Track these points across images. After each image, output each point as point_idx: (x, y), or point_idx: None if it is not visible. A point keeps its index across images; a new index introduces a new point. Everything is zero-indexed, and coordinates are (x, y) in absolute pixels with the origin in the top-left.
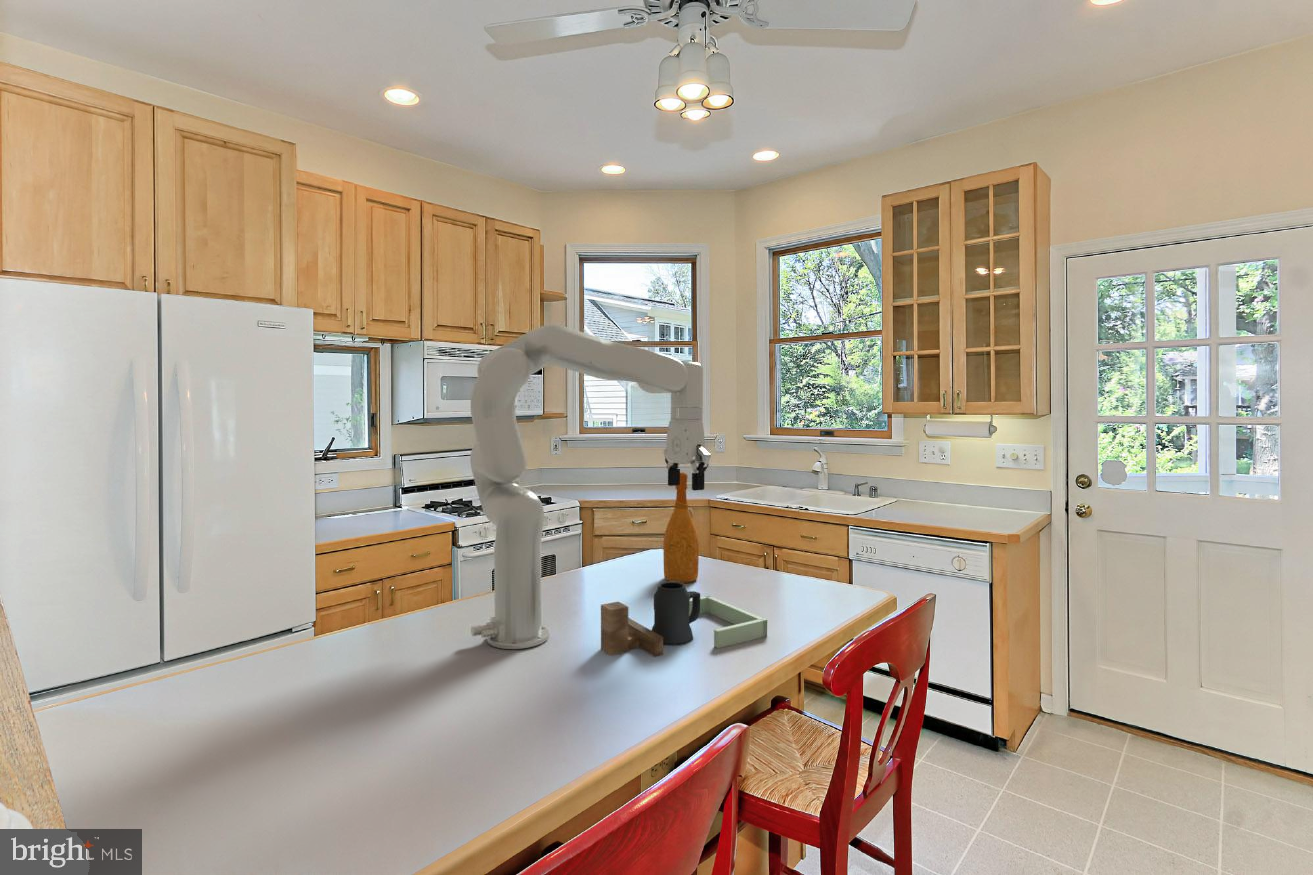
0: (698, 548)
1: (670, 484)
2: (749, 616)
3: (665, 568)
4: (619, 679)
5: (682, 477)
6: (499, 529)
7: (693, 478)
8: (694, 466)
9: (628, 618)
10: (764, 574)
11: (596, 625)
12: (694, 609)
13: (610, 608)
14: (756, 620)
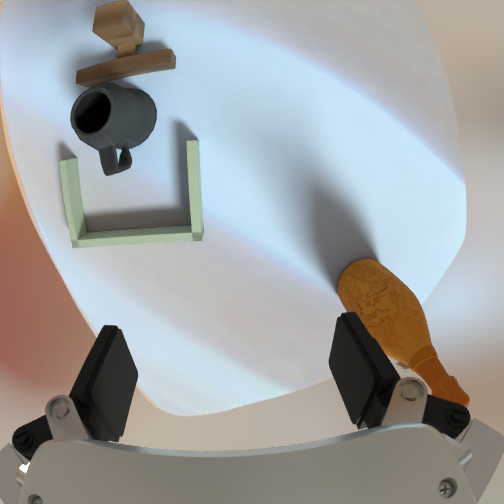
0: None
1: (338, 320)
2: (94, 238)
3: (376, 264)
4: (66, 29)
5: None
6: None
7: (83, 368)
8: (58, 432)
9: (163, 61)
10: (303, 378)
11: (232, 44)
12: (120, 164)
13: (102, 8)
14: (74, 233)
